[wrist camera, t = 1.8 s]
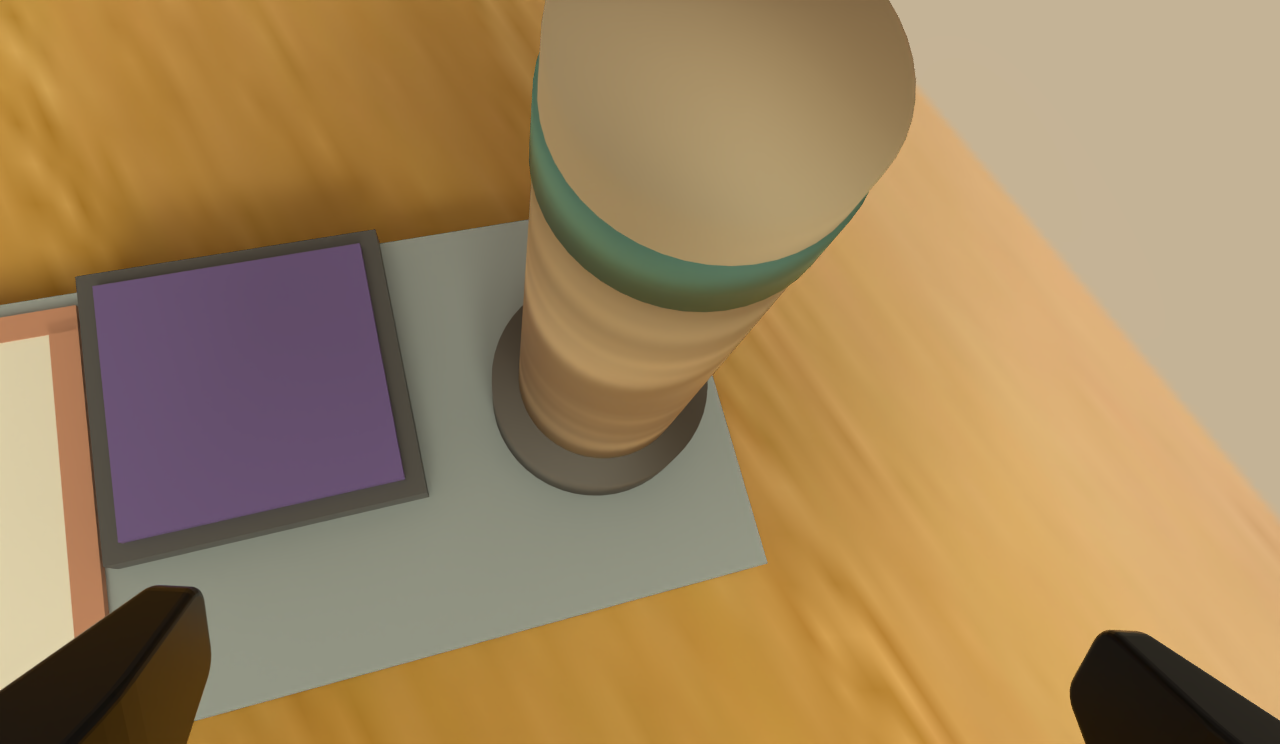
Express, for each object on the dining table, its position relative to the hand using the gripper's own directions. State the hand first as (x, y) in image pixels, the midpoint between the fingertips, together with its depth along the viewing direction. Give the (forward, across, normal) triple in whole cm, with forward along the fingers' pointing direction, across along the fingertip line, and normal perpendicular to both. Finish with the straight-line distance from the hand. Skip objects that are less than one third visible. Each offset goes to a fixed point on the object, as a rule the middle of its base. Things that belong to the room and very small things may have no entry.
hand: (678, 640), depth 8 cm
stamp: (+12, 0, +4) cm, 12 cm away
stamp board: (+11, +8, +6) cm, 15 cm away
